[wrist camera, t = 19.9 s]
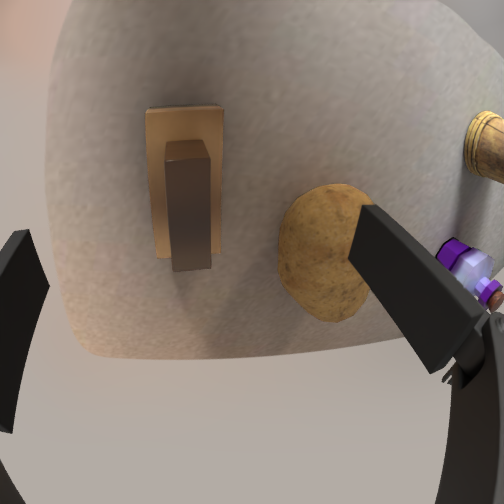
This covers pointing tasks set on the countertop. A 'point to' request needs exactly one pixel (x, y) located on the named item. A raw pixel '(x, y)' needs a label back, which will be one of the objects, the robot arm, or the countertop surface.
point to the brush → (185, 182)
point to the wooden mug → (486, 146)
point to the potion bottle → (472, 272)
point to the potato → (323, 252)
